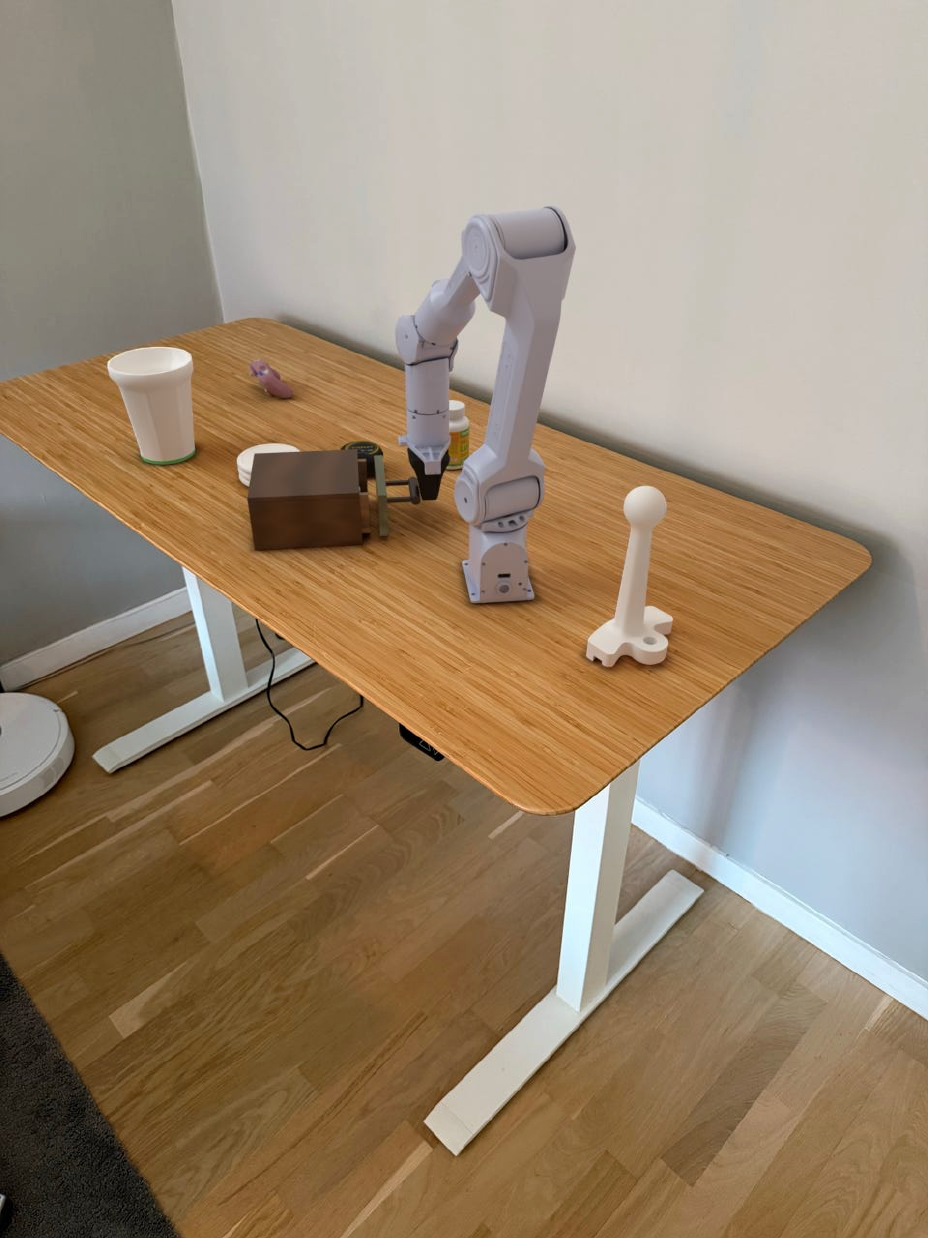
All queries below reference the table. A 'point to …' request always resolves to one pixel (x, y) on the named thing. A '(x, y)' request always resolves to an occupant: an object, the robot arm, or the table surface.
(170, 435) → the cup
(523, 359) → the robot arm
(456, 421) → the supplement bottle
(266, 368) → the pink animal figurine
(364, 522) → the drawer
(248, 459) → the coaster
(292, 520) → the cabinet
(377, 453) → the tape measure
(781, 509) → the table surface
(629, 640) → the joystick
